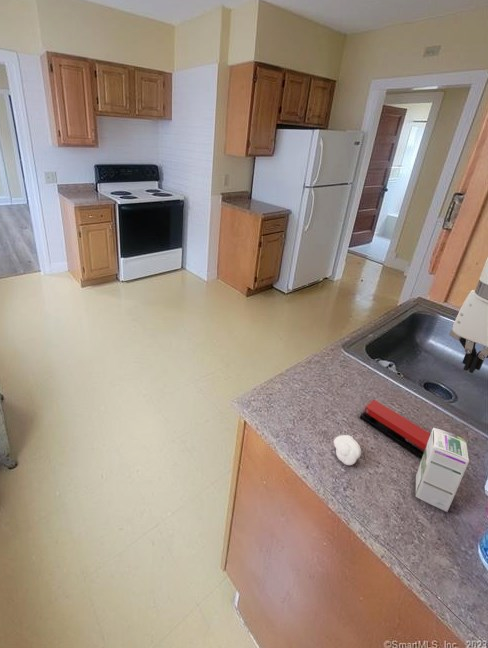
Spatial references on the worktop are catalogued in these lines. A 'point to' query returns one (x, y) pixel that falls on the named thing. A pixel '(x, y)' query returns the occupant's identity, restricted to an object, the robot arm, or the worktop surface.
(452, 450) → the syrup box
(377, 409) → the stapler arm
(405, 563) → the worktop surface
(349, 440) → the dumpling
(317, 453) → the worktop surface
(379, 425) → the stapler base
